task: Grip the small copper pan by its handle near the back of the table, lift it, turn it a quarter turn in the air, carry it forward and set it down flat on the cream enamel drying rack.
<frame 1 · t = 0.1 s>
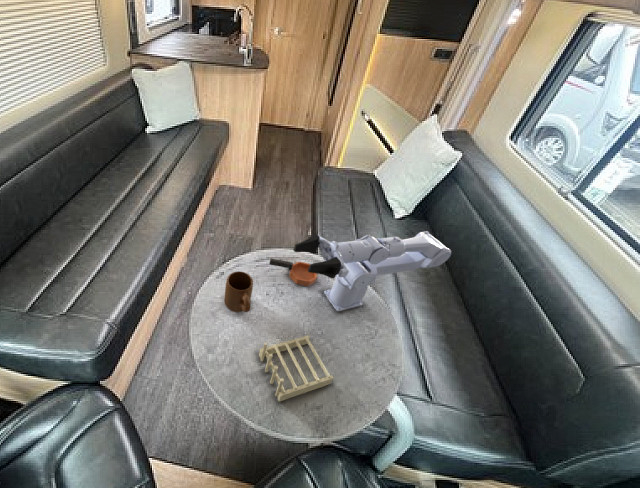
hand: (301, 257, 81), 22 cm above the table, tool horizontal, fingers open, 7 cm apart
mug: (238, 309, 93), on the table
pan: (302, 275, 107), on the table
rack: (293, 369, 80), on the table
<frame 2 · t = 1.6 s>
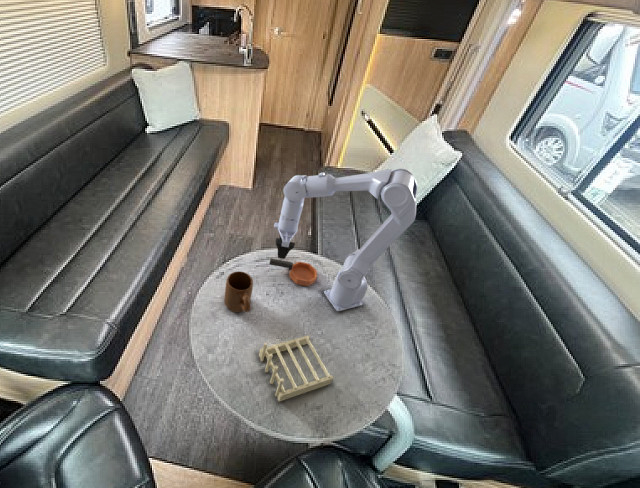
hand: (282, 249, 102), 9 cm above the table, tool pointing down, fingers open, 7 cm apart
nothing on the table moved.
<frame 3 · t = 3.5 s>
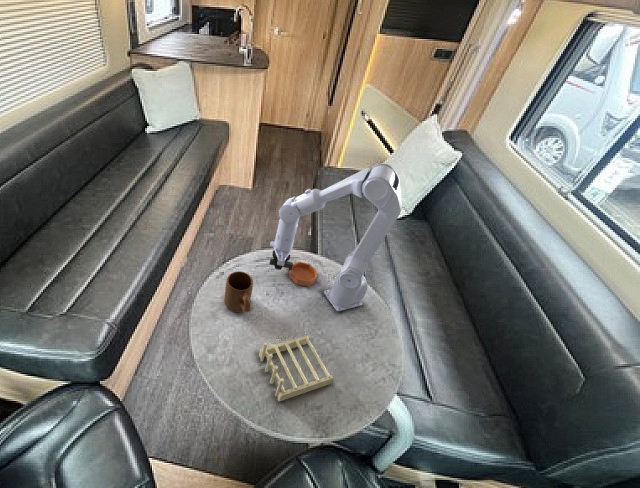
hand: (278, 266, 106), 2 cm above the table, tool pointing down, fingers closed on pan
pan: (302, 275, 107), on the table, touching gripper
everything else where it was.
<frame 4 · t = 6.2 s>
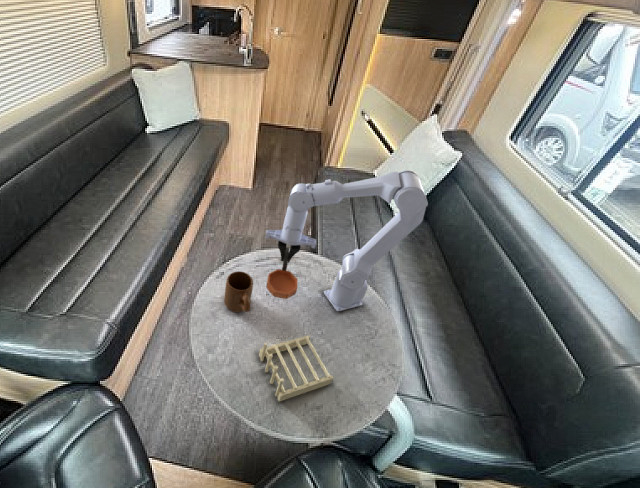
hand: (285, 259, 98), 9 cm above the table, tool pointing down, fingers closed on pan
pan: (281, 285, 93), point 6 cm above the table, tilted 5°, touching gripper
everything else where it was.
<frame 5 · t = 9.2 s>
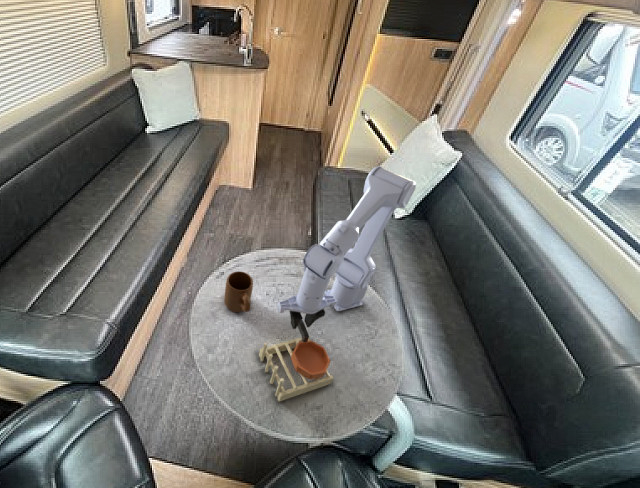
hand: (299, 324, 83), 6 cm above the table, tool pointing down, fingers open, 3 cm apart
pan: (309, 361, 79), point 3 cm above the table, touching rack
everything else where it was.
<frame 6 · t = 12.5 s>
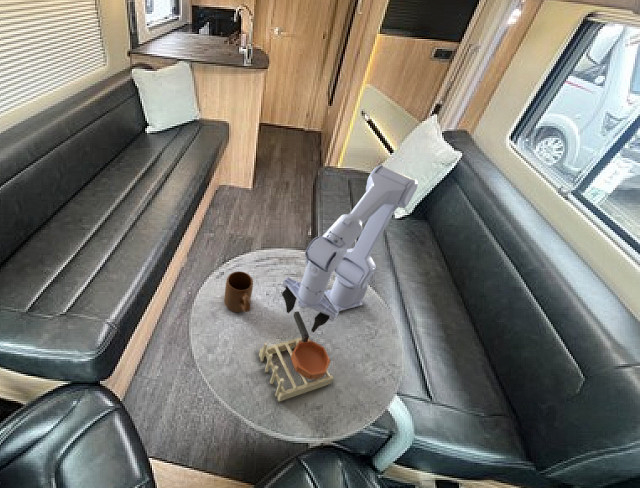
hand: (301, 319, 82), 9 cm above the table, tool pointing down, fingers open, 7 cm apart
nothing on the table moved.
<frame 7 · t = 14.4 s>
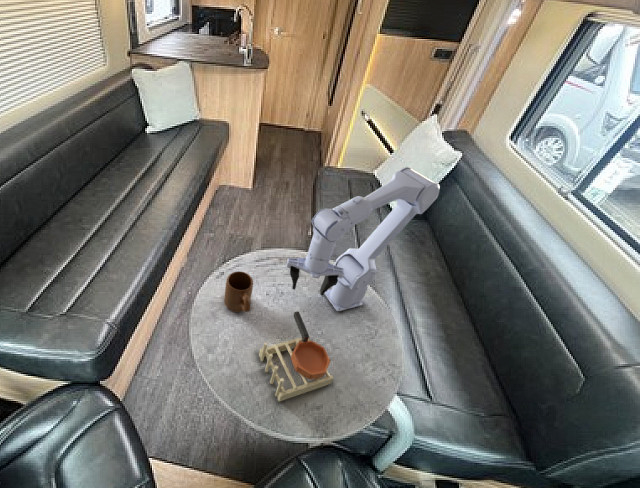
hand: (307, 289, 89), 10 cm above the table, tool pointing down, fingers open, 7 cm apart
nothing on the table moved.
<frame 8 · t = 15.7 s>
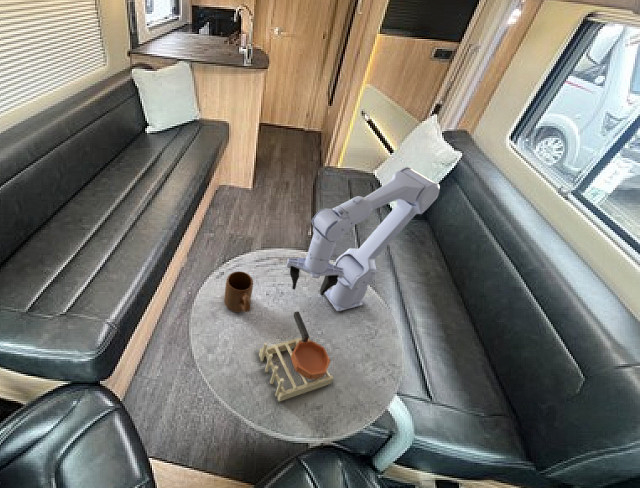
hand: (307, 289, 89), 10 cm above the table, tool pointing down, fingers open, 7 cm apart
nothing on the table moved.
at the end: pan inside the target area on the rack (3.3 cm from its centre), point 3.2 cm above the rack's base; pan tilted 0°; the gripper is holding nothing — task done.
